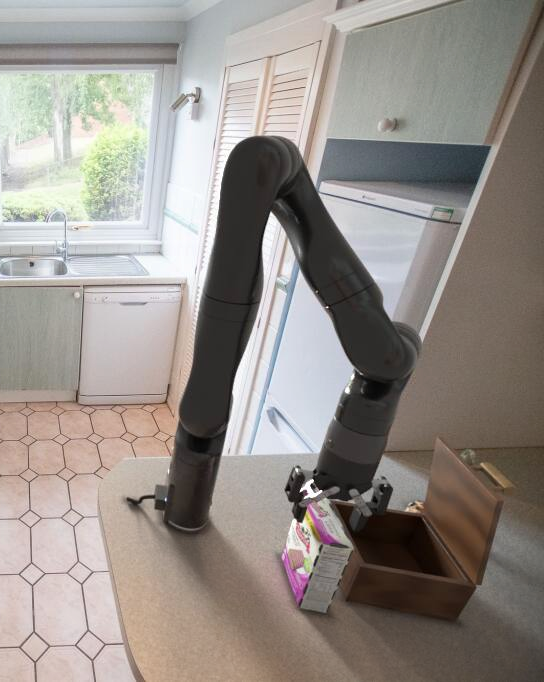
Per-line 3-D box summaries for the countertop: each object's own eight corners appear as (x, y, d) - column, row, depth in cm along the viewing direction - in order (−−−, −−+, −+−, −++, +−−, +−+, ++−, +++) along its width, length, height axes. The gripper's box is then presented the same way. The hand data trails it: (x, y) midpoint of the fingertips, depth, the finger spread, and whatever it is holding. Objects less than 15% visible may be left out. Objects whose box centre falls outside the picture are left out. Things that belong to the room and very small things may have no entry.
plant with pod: (470, 527, 95) (513, 451, 87) (425, 535, 93) (465, 458, 85) (433, 499, 103) (469, 426, 94) (391, 506, 101) (424, 432, 92)
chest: (345, 601, 80) (361, 566, 77) (316, 531, 94) (328, 499, 91) (455, 622, 77) (477, 587, 73) (408, 546, 91) (424, 514, 87)
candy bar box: (278, 556, 89) (299, 492, 82) (306, 560, 88) (329, 496, 81) (296, 609, 79) (322, 542, 72) (328, 615, 78) (357, 548, 71)
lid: (497, 501, 66) (545, 501, 65) (436, 436, 80) (475, 436, 79) (475, 585, 73) (519, 587, 71) (422, 512, 87) (458, 513, 85)
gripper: (393, 437, 72) (362, 513, 79) (295, 426, 75) (274, 500, 82) (418, 468, 65) (382, 548, 72) (309, 455, 68) (285, 533, 75)
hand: (325, 523), depth 77 cm, fingers open, 8 cm apart
